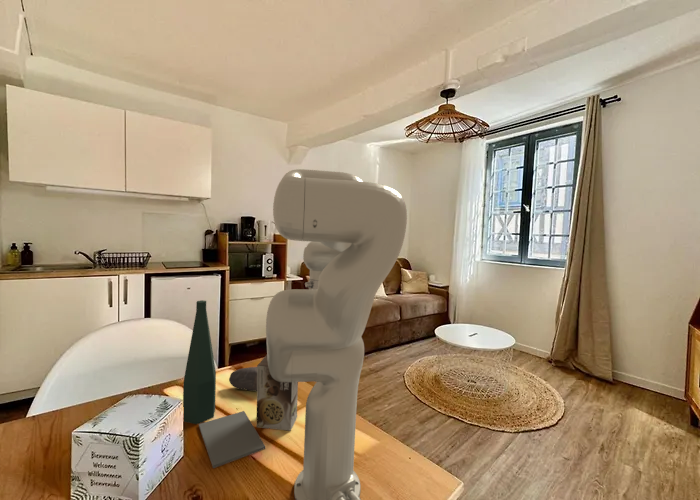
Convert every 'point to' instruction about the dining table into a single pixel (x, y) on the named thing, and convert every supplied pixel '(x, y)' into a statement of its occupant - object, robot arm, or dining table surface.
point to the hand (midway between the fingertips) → (320, 350)
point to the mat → (230, 438)
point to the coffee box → (275, 400)
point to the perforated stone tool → (244, 379)
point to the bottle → (199, 372)
